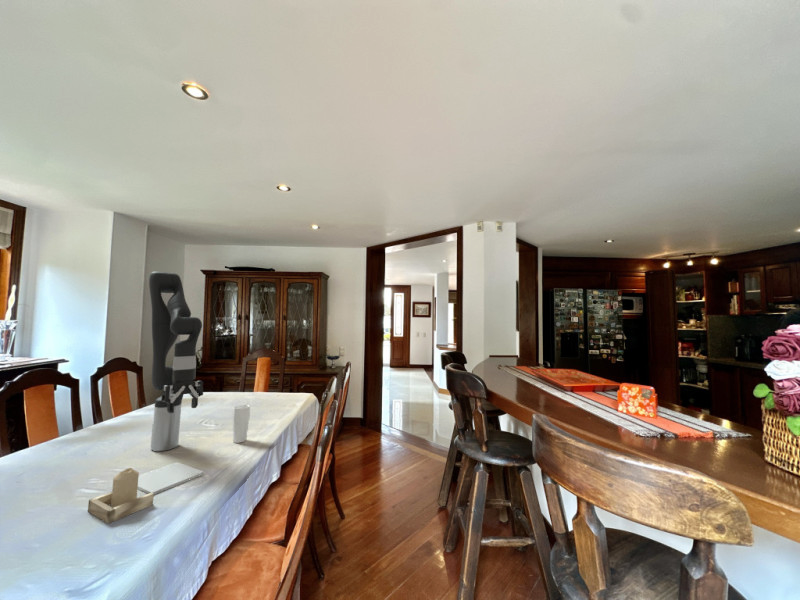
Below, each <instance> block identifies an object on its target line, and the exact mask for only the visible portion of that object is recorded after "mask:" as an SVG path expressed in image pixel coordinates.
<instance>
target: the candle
mask: <svg viewBox="0 0 800 600" xmlns="http://www.w3.org/2000/svg"><path fill="white" fill-rule="evenodd" d="M139 475H140V472H139V471H138V470H136V469H134V468H133V467H129V468H126V469H125V470H122V471H120V472H118V473H117V474H115V476H114V477H113V478H112V479H113V481H112V491H111V492H112V500H111V505H110V507H112V508H114V507H117V506H119V505H122V504H124V503H127V502H129V501H132V500H134V499H137V498H138V489H137V488H138V477H139Z"/></svg>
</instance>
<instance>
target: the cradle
mask: <svg viewBox="0 0 800 600" xmlns="http://www.w3.org/2000/svg"><path fill="white" fill-rule="evenodd" d="M154 496H155V494H153V493H149V494H147V493H146V494H144V495H141V496H140V497H137V499H134V500H132V501H129V502H127V503H124V504H122V505H119V506H117V507H114V508H112V507H111V500H112V491H109V492H107V493H103V494H102V495H99V496H95V497H93V498H91V499H88V503H87V512H88V513H90V514H92V515H93V516H95V517H96V518H98V519H100V520H101V521H103V522H105V523H106V524H111V523H113V522H116V521H118V520H121V519H124V518H126V517H127V516H129V515H132V514H134V513H136V512H139V511H142V510H144V509H146V508H148V507H151V506H153V504H154Z"/></svg>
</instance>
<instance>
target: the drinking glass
mask: <svg viewBox="0 0 800 600" xmlns="http://www.w3.org/2000/svg"><path fill="white" fill-rule="evenodd" d="M232 411H233V412H232V428H233V429H232V431H233V434H232V435H233V436H232V437H233V439H232V441H233V443H235V444H241V442H242V443H244V442H246V441H247V437H248V430H249V421H250V416H251V415H250V414H251V405H247V404H239V405H236V406H233V410H232Z"/></svg>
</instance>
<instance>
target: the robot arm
mask: <svg viewBox="0 0 800 600" xmlns="http://www.w3.org/2000/svg"><path fill="white" fill-rule="evenodd" d="M148 286H149V287H148V288H149V294H150V295H149V296H150V304H151V335H152V365H151V383H152V384H151V385H152V387H153V389H154V390H156V391H161V392H162V394H161V395H160V396H159V397H157V398H156V399H155V401H154V409H153V411H154V412H153V421H152V426H151V427H152V428H151V437H150V439H151V440H150V450H151V451H152V450H153V452H165V451H169V450H172V449H175V448H176V447H178V446H179V440H180V426H181V414H182V413H181V412H182V401H183V398H184V395H190V396H191V402H190V403H191V409H196V408H197V407H198V405H199V397H201V396H203V395H204V381H203V380H196V377H197V376H196V375H197V374H196V372H197V368H196V367H197V356H196V354H197V353H196V351H197V342H198V339H199V336H200V334H201V331H202V329H203V328H202V327H203V323H202V321H201V319H200V318H199V317H194V316H192V313H191V309H190V307H189V306H188V303H187V300H186V297H185V292H184V287H183V283H182V279H181V277H180V275H179V274H177V273H175V272H164V271H152V272H151V273H150V274H149V279H148ZM162 294H173V295H171V297H170V298H169V299H168V301H167V305H166V303H165V301H164V299H163V296H162ZM184 335H186V336H188V337H187V338H186V339H184V340H180V341H177V339H178V337H179V336H184ZM176 341H177V342H176ZM173 346H174V353H173V355H174V357H173V360H172V361H173V362H172V366H171V365H169V366H166V361H167V357H168V353H169V352H170V350H171V348H173ZM195 388H196V390H195Z"/></svg>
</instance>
